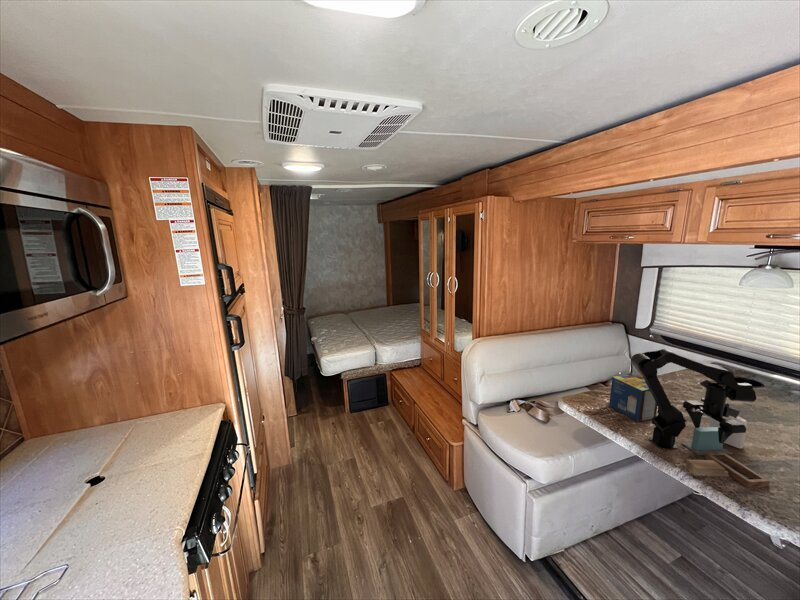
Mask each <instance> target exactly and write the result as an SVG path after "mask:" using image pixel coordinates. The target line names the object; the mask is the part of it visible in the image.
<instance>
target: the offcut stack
mask: <svg viewBox="0 0 800 600" xmlns="http://www.w3.org/2000/svg"><path fill="white" fill-rule="evenodd" d="M685 462H686V463H683V464H682V466H683V467H685V468H686V470H688V471H689V472H690V473H691V474H693V475H694V476H701V475H702V476H701V477H704V476H705V475H709V476H708V477H730V475H729V474H728V472H727V471H726V470H725V468H723V467H722V466H721V465H719V464H718V463H717V462H715V461H714V460H707V459H686V461H685ZM705 477H706V476H705Z"/></svg>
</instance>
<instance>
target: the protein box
mask: <svg viewBox="0 0 800 600" xmlns="http://www.w3.org/2000/svg"><path fill="white" fill-rule="evenodd" d="M610 387H611V388H610V392H609V393H610V395H609V402H608V403H609V404H608V406H609V407H611V408H613V409H615V410H617V411H619V412H620V413H622V414H624V415H626V416H627V417H628V418H631V419H632V420H634V421H636V422H644V421H648V420H651V419H652V418H654V417H655V416H657V413H658V406H657V404H656V402H655V400H654V398H653V396H652V394H651V392H650V390H649V388H648V386H647V384H646V382H645V380H644V379H640V378H638V377H636V376H633V375H631V374H622V375H616V376H612V377H611V386H610Z"/></svg>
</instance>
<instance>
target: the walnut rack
mask: <svg viewBox="0 0 800 600" xmlns="http://www.w3.org/2000/svg"><path fill="white" fill-rule="evenodd" d="M704 460H714V461H715V462H717V463H718V464H719V465H721V466H722V467H723V468H725V470H726V471H727V472H728V475H729V477H732V478H733V479H735V480H737V481H738V482H739V483H741V484H742V485H744V486H745V487H747V488H758V487H759V488H760V487H761V488H764V487H766V488H767V487H769V486H770V483H771V482H770V480H769V479H767V478H766V477H764V476H762V475H761V474H759V473H757V472H756V471H754V470H753V469H751V468H750V467H748V466H747V465H745V464H743V463H741V462H740V461H739V460H737V459H736V458H733V457H732V456H730V454H729V455H727V454H726V453H706V454H705V455H704ZM722 460H723V461H722ZM725 462H727V464H730V465H731V466H733V467H734V468H735V469H737V470H739V472H738V471H736V470H735V469H734V468H732V467H731V466H730V465H727V464H726V463H725ZM740 471H741V472H742V473H743V474H745V475H747V476H748V477H750V478H751V479H749V478H747V477H746V476H744V475H743V474H741V473H740Z"/></svg>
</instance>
